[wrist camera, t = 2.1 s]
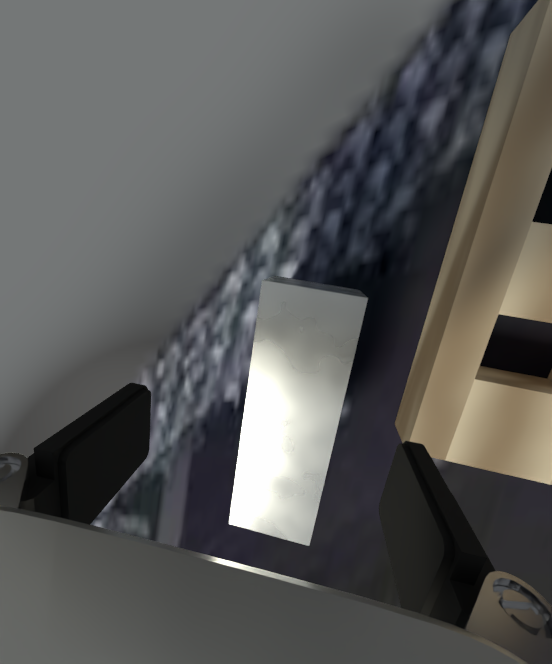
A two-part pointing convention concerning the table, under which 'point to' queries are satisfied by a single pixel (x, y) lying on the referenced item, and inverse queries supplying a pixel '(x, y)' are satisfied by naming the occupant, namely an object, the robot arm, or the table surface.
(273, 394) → the brushed steel block
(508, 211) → the birch rail
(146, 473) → the table surface
